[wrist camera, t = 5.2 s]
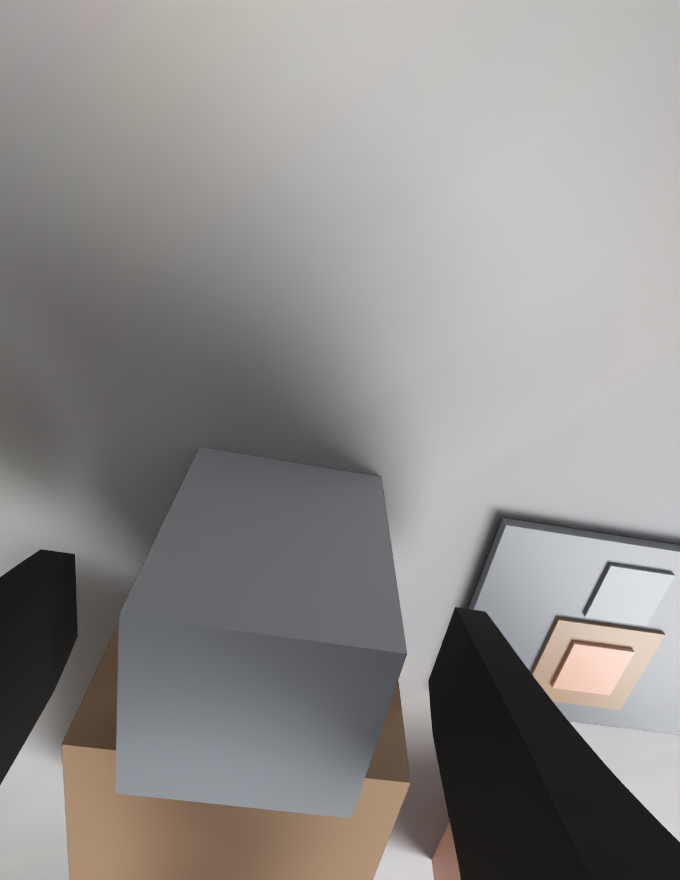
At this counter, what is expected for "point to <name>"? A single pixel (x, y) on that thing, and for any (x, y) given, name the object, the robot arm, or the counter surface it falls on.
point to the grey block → (260, 639)
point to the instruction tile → (590, 620)
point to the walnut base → (214, 813)
